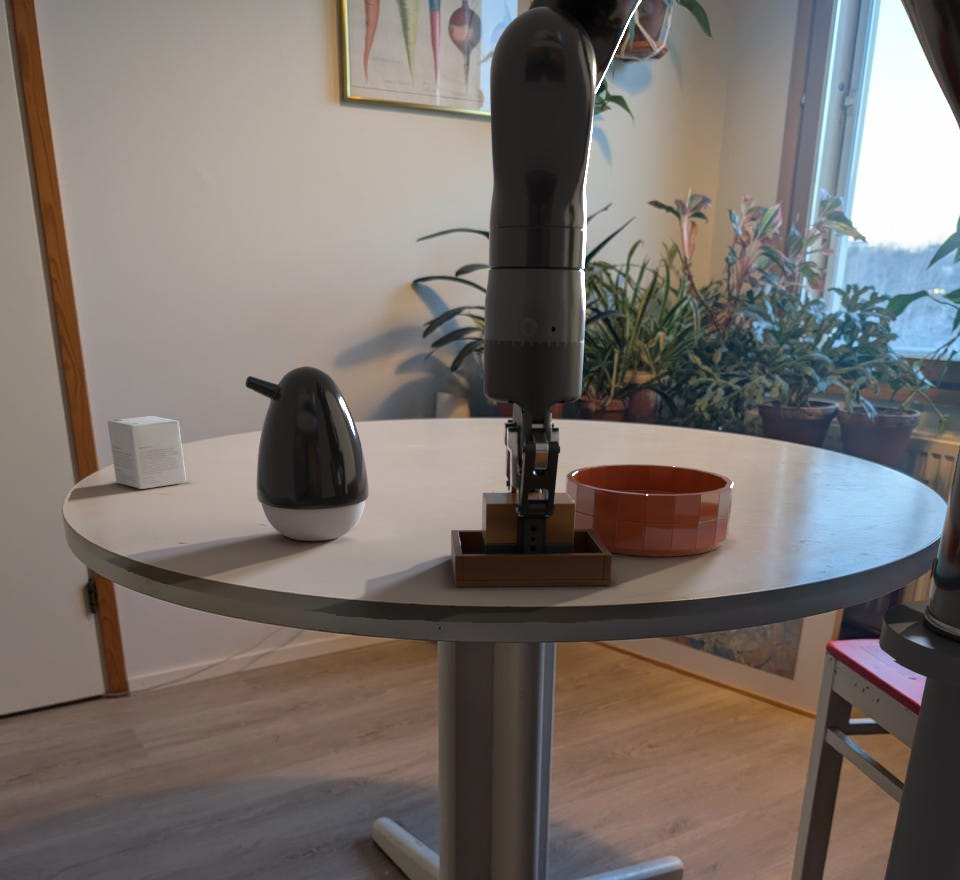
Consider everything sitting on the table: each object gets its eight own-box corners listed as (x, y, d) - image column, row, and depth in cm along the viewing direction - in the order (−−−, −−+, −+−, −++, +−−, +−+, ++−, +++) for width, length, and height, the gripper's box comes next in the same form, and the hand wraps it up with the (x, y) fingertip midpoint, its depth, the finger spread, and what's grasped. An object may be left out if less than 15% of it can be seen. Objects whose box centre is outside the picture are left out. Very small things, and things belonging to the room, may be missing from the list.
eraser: (564, 553, 75) (567, 492, 73) (572, 567, 71) (575, 503, 69) (481, 553, 75) (482, 492, 73) (485, 568, 71) (486, 503, 69)
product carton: (187, 483, 106) (180, 419, 103) (138, 490, 101) (130, 424, 99) (162, 476, 109) (154, 415, 107) (114, 482, 105) (105, 419, 103)
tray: (590, 557, 77) (592, 529, 77) (610, 585, 70) (612, 554, 69) (451, 558, 77) (451, 529, 76) (455, 587, 69) (455, 556, 68)
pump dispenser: (255, 524, 87) (242, 362, 81) (362, 519, 89) (356, 361, 84) (259, 552, 78) (245, 371, 72) (378, 545, 80) (372, 370, 75)
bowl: (752, 533, 86) (759, 477, 84) (681, 568, 75) (687, 503, 73) (614, 510, 95) (618, 458, 93) (533, 538, 83) (534, 479, 81)
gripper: (602, 340, 60) (587, 581, 66) (568, 332, 74) (559, 533, 80) (492, 338, 60) (487, 582, 66) (478, 331, 73) (475, 534, 79)
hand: (526, 554), depth 73 cm, fingers closed on eraser, 4 cm apart
